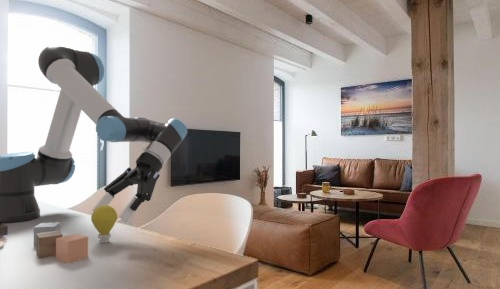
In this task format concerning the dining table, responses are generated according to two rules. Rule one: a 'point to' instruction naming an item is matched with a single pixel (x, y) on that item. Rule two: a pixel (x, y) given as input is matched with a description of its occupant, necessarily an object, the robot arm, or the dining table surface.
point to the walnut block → (47, 243)
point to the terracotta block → (71, 248)
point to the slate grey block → (45, 228)
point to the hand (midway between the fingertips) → (108, 216)
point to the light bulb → (104, 221)
